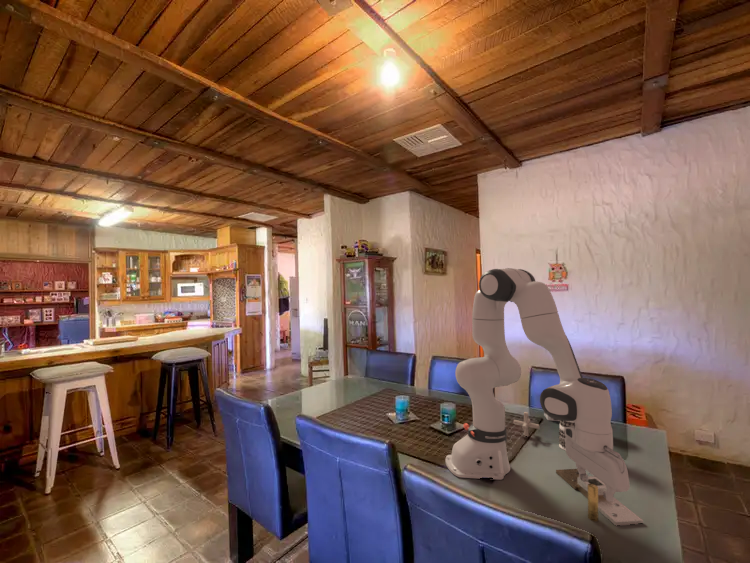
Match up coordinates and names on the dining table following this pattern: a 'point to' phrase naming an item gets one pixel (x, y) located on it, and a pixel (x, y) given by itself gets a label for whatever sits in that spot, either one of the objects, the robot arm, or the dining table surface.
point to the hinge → (601, 498)
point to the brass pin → (593, 502)
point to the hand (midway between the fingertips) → (595, 489)
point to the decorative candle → (562, 433)
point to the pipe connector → (526, 424)
